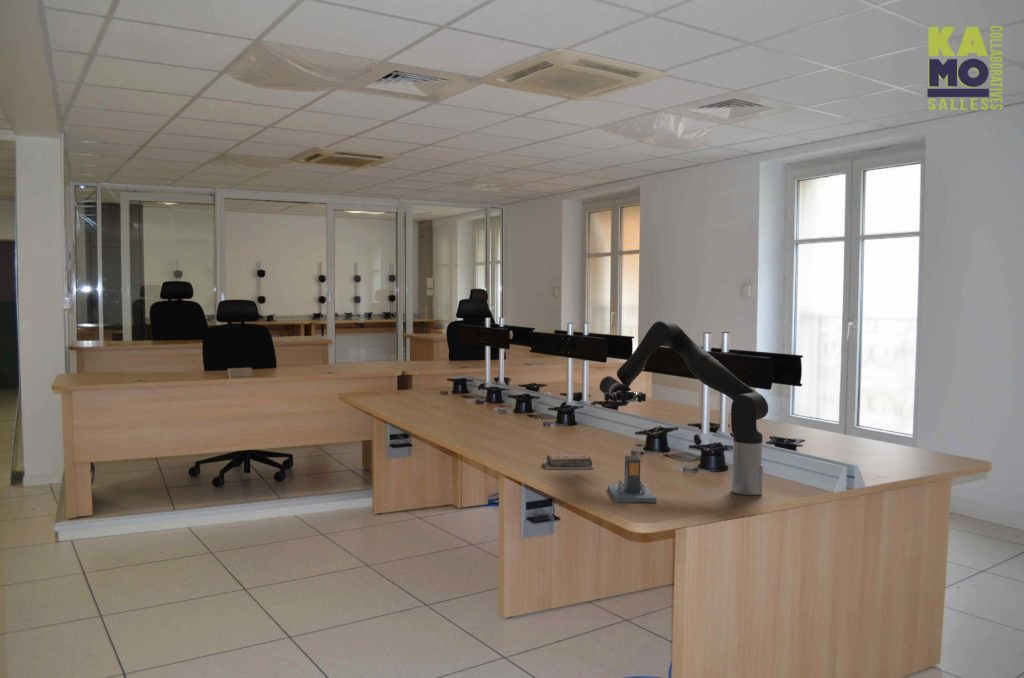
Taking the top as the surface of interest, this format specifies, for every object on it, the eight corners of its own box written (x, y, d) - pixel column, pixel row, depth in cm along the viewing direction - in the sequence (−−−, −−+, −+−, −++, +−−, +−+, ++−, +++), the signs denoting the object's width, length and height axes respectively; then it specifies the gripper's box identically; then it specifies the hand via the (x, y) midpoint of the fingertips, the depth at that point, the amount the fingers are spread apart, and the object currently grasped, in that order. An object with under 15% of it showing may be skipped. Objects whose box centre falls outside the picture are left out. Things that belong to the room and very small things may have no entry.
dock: (646, 489, 254) (646, 476, 253) (656, 502, 238) (656, 488, 237) (607, 489, 253) (608, 476, 253) (615, 502, 237) (615, 488, 237)
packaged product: (588, 452, 293) (593, 457, 283) (588, 464, 294) (593, 470, 284) (542, 452, 292) (546, 458, 282) (542, 464, 292) (545, 470, 282)
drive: (636, 489, 249) (637, 456, 248) (639, 493, 242) (640, 459, 242) (624, 488, 248) (624, 455, 248) (627, 493, 242) (628, 459, 242)
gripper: (600, 383, 276) (607, 388, 259) (639, 383, 276) (649, 388, 260) (600, 403, 276) (607, 410, 260) (639, 404, 276) (648, 410, 260)
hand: (628, 399), depth 260 cm, fingers open, 8 cm apart
